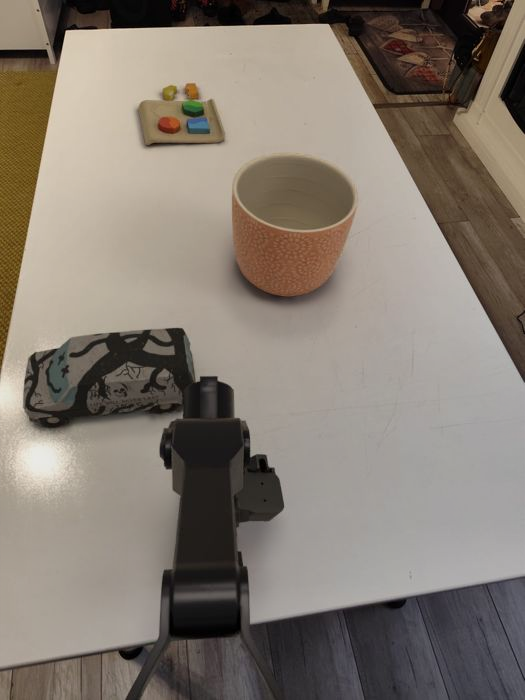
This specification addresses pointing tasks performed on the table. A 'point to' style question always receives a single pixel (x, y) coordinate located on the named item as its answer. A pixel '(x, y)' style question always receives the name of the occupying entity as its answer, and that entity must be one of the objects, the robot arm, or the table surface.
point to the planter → (290, 221)
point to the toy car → (108, 375)
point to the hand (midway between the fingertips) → (209, 530)
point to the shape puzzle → (180, 119)
